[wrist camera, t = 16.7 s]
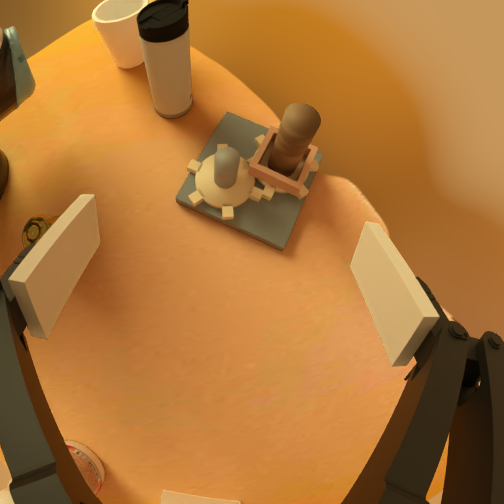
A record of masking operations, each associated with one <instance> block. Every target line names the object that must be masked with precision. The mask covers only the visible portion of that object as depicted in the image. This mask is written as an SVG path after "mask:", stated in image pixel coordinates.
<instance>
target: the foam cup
mask: <svg viewBox="0 0 504 504" xmlns="http://www.w3.org/2000/svg"><path fill="white" fill-rule="evenodd" d="M148 4H149V0H105V1H103V2H102V3H100V4H99V5H98V6H97V7H96V8H95V9H94V11H93V14H92V20H93V23H94V26H95V28H96V29H97V30H98V31H99V33H100V35H101V37H102V39H103V41H104V43H105V45H106V47H107V48H108V50H109V52H110V54H111V56H112V58H113V60H114V61H115V63H116V65H117V66H118V67H120V68H123V69H129V68H133V67H136V66H138V65H140V64H141V63H143V62H144V58H143V53H142V48H141V43H140V38H139V31H138V25H137V20H136V19H137V15H138V13H139V12H140V11H141V10H142V9H143V8H144V7H145V6H146V5H148Z"/></svg>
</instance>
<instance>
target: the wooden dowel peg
mask: <svg viewBox="0 0 504 504" xmlns="http://www.w3.org/2000/svg"><path fill="white" fill-rule="evenodd" d="M320 123H321V119H320V115H319V113H318V112H317V111H316V110H315V109H314V108H313V107H311V106H309V105H307V104H304V103H294V104H291V105H289V106H288V107H287V109H286V110H285V113H284V116H283V119H282V121H281V124H280V127H279V130H278V133H277V136H276V139H275V142H274V144H273V147H272V150H271V153H270V156H269V159H268V168H269V169H271V170H273V171H275V172H277V173H279V174H281V175H284V176H286V177H289V176H291V175H292V174H293V173H294V171H295V170H296V168H297V166H298V164H299V162H300V161H301V159H302V157H303V155H304V153H305V151H306V150H307V148H308V146H309V144H310V142H311V141H312V139H313V137H314V135H315V133H316V131H317V130H318V128H319V126H320Z"/></svg>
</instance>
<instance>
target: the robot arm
mask: <svg viewBox="0 0 504 504" xmlns="http://www.w3.org/2000/svg"><path fill="white" fill-rule="evenodd" d="M34 90H35V81H34V78H33V75H32V73H31V70H30V68H29V65H28V62H27V60H26V57H25V54H24V51H23V49H22V46H21V43H20V40H19V37H18V34H17V31H16V28H15V27H10V28H7V29H5V30H4V31H3V30H2V29H1V28H0V121H1V120H2V119H4V118H5V117H6V116H7V115H9V114H10V113H11V112H13V111H14V110H15V109H17V108H18V107H19V105H20V104H21V103H23V102H24V101H25V100H26V99H27V98H29V97H30V96H31V95H32V94H33V92H34ZM7 177H8V161H7V158H6V156H5V154H4V153H3V151H1V150H0V199H1V196H2V194H3V192H4V189H5V186H6V182H7ZM100 244H101V241H100V234H99V226H98V217H97V208H96V197H95V194H81V195H80V196H79V197H78V198H77V199H76V200H75V201H74V202H73V203H72V204H71V205H70V206H69V208H68V209H67V210H66V211H65V212H64V213H63V214H62V215H61V216H60V217H59V218H58V219H57V221H56V222H55V223H54V224H53V225H52V226H51V227H50V228H49V230H48V231H47V232H46V233H45V234H44V235H43V236H42V238H41V239H40V240H39V241H38V242H37V243H35V242H33V243H32V244H30V245H29V246H27V247H26V248H24V250H23V251H22V252H21V253H20V254H19V256H18V258H16V259H15V261H14V262H13V264H11V266H10V267H9V268H8V269H7V271H6V272H5V273H4V274H3V276H2V277H1V278H0V445H1V448H2V451H3V454H4V457H5V460H6V463H7V465H8V468H9V470H10V473H11V476H12V482H11V483H10V484H9V491H10V494H11V497H12V499H13V502H14V504H102V503H101V501H100V500H99V499H98V498H97V497H96V495H95V494H94V493H93V492H92V490H91V489H90V487H89V486H88V484H87V483H86V481H85V479H84V477H83V476H82V474H81V472H80V470H79V468H78V467H77V465H76V463H75V461H74V459H73V457H72V455H71V453H70V451H69V449H68V448H67V445H66V443H65V441H64V439H63V437H62V435H61V433H60V431H59V429H58V426H57V424H56V422H55V420H54V417H53V415H52V413H51V410H50V408H49V405H48V403H47V400H46V398H45V395H44V393H43V390H42V387H41V385H40V382H39V379H38V376H37V373H36V370H35V367H34V364H33V361H32V358H31V355H30V351H29V348H28V345H27V341H26V338H25V336H24V334H23V331H24V330H25V328H26V326H27V327H28V329H29V331H30V333H31V335H32V336H34V337H38V338H43V339H48V337H49V335H50V333H51V331H52V329H53V327H54V325H55V323H56V321H57V319H58V317H59V315H60V313H61V312H62V310H63V308H64V306H65V304H66V302H67V300H68V298H69V297H70V295H71V293H72V291H73V289H74V288H75V286H76V284H77V282H78V280H79V279H80V277H81V275H82V274H83V272H84V270H85V268H86V267H87V265H88V263H89V262H90V260H91V258H92V257H93V255H94V253H95V252H96V250H97V249H98V247H99V245H100ZM350 268H351V271H352V273H353V275H354V277H355V280H356V282H357V284H358V286H359V289H360V291H361V293H362V295H363V298H364V300H365V302H366V305H367V307H368V309H369V312H370V314H371V317H372V319H373V321H374V324H375V326H376V329H377V331H378V334H379V336H380V339H381V341H382V344H383V346H384V349H385V351H386V354H387V357H388V359H389V362H390V364H391V367H392V366H405V365H407V364H408V363H409V361H410V360H411V359H412V357H413V356H414V357H415V359H416V362H417V363H416V365H415V366H414V367H413V369H412V370H411V371H410V373H409V374H408V375H407V376H406V378H405V379H404V380H407V379H408V378H409V379H408V381H407V383H406V386H405V388H404V390H403V393H402V395H401V397H400V399H399V402H398V404H397V406H396V408H395V410H394V412H393V414H392V417H391V419H390V421H389V423H388V425H387V427H386V429H385V431H384V433H383V435H382V436H381V438H380V440H379V442H378V444H377V446H376V448H375V449H374V451H373V453H372V455H371V457H370V458H369V460H368V462H367V464H366V465H365V467H364V469H363V470H362V472H361V474H360V475H359V477H358V479H357V480H356V482H355V484H354V485H353V487H352V488H351V490H350V491H349V493H348V494H347V496H346V497H345V499H344V500H343V502H342V503H341V504H429V502H427V501H426V494H427V492H428V489H429V487H430V484H431V482H432V480H433V477H434V474H435V472H436V469H437V467H438V464H439V461H440V458H441V456H442V453H443V450H444V447H445V444H446V441H447V437H448V434H449V445H448V457H447V466H446V474H445V481H444V488H443V494H442V500H441V504H504V342H503V341H502V339H501V337H500V336H498V335H497V334H495V333H493V332H490V331H487V332H485V333H484V334H483V336H482V337H481V338H480V339H476V338H472V337H469V334H468V332H467V331H466V330H465V328H464V327H463V326H461V325H460V324H459V323H456V322H454V321H449V320H448V318H447V317H446V315H445V313H444V312H443V310H442V308H441V307H440V305H439V304H438V302H437V301H436V299H435V297H434V296H433V294H431V291H430V289H429V288H428V286H427V285H426V284H425V283H424V282H423V281H422V280H421V279H420V278H419V277H415V276H414V274H413V273H412V271H411V270H410V268H409V267H408V265H407V263H406V262H405V260H404V259H403V258H402V256H401V255H400V253H399V252H398V250H397V249H396V247H395V246H394V244H393V243H392V241H391V240H390V239H389V237H388V236H387V234H386V233H385V232H384V230H383V229H382V227H381V226H380V225H379V223H373V222H366V221H365V224H364V227H363V230H362V233H361V236H360V239H359V241H358V244H357V247H356V250H355V253H354V256H353V258H352V261H351V264H350ZM480 381H481V382H480ZM479 382H480V386H479Z"/></svg>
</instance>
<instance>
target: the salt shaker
mask: <svg viewBox="0 0 504 504" xmlns="http://www.w3.org/2000/svg"><path fill="white" fill-rule="evenodd" d="M59 217H60V216H54V217H50V218H48V217H47V216H45V215H35V216H33V217H32V218H30V219H29V220H28V222H27V223H26V225H25V226H24V229H23V232H22V243H23V246H24V248H26V247H27V246H29V245H30V244H32V243H33V242H35V243H37V242H38V241H39V240H40V239H41V238H42V236H43V235H44V234H45V233H46V232H47V231H48V230H49V228H50V227H51V226H52V225H53V224H54V223H55V222H56V221H57V219H58V218H59Z"/></svg>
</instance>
